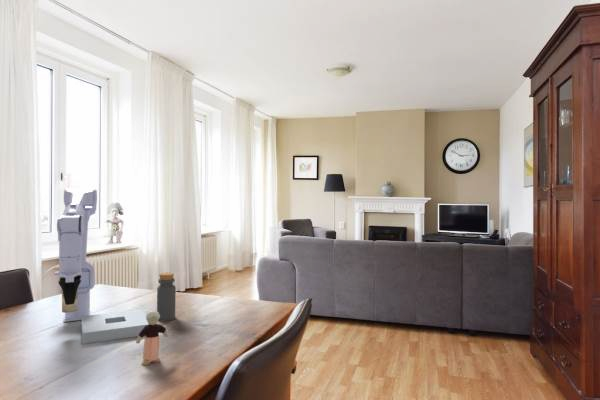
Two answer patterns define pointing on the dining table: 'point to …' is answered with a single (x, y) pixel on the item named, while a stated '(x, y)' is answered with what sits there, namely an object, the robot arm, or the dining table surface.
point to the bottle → (166, 297)
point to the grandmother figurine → (151, 338)
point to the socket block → (112, 325)
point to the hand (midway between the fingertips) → (70, 302)
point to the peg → (70, 307)
